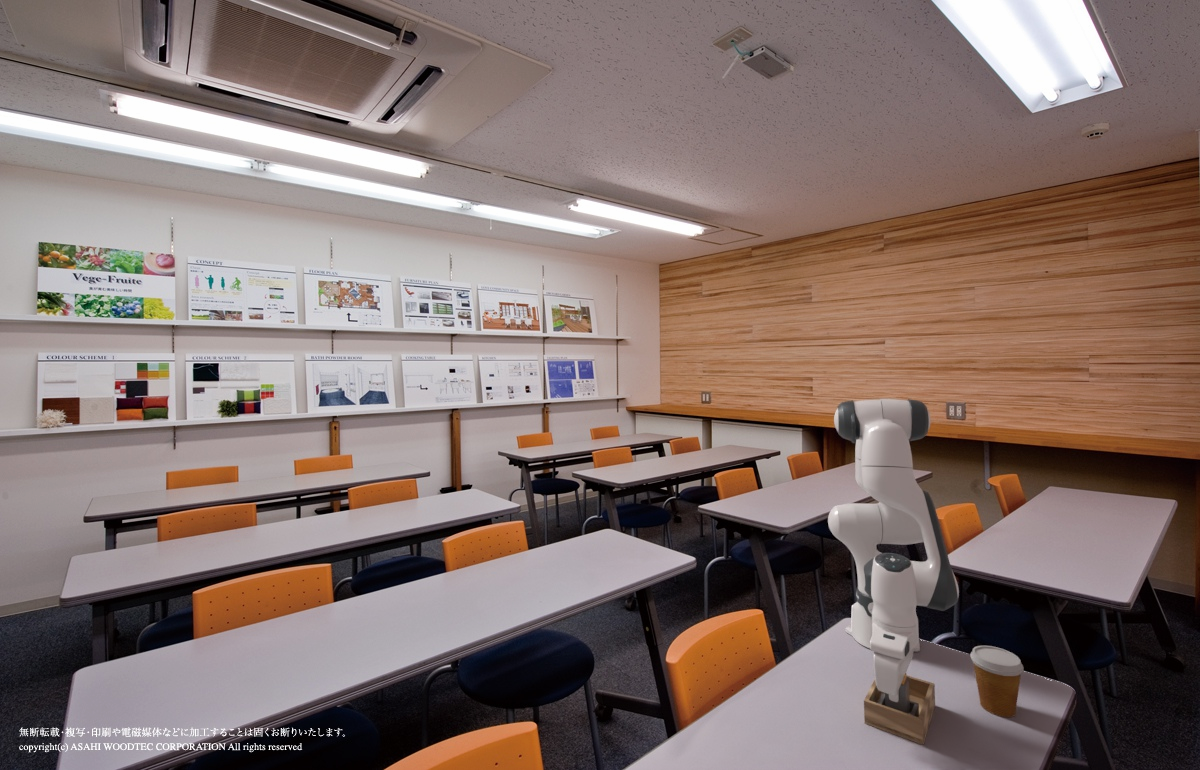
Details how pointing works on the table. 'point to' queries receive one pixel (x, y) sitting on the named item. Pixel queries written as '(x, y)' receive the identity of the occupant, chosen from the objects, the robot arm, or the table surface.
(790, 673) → the table surface
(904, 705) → the block
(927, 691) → the box
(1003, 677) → the disposable coffee cup
